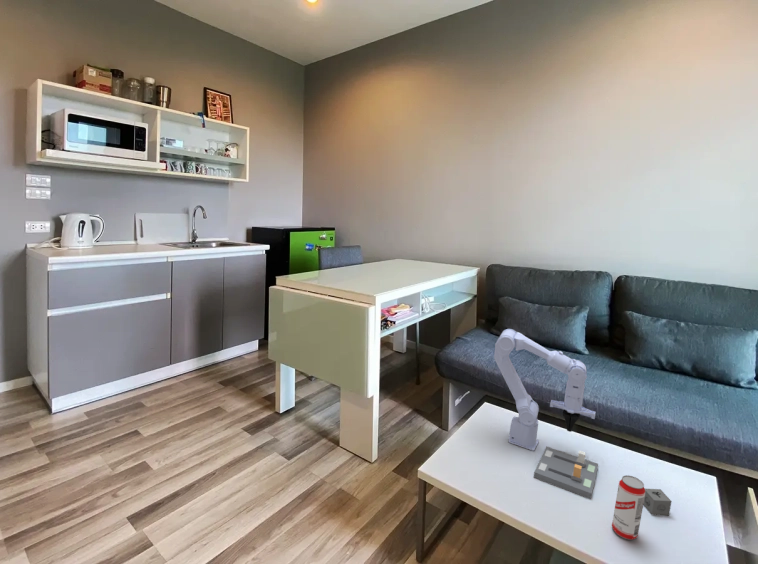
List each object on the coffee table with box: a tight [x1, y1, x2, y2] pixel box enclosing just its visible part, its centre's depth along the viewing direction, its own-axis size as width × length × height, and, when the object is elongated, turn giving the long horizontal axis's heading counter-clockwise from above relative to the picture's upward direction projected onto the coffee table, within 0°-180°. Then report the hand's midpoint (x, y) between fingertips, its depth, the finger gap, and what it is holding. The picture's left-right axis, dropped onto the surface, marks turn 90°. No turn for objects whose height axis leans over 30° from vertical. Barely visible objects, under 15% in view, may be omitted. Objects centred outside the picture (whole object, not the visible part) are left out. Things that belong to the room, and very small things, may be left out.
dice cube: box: [643, 487, 672, 517], centre depth 121 cm, size 5×5×5 cm
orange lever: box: [571, 464, 582, 482], centre depth 131 cm, size 3×2×4 cm
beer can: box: [611, 475, 646, 541], centre depth 111 cm, size 6×6×16 cm
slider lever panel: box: [533, 445, 599, 500], centre depth 137 cm, size 17×18×2 cm
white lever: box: [576, 450, 586, 468], centre depth 138 cm, size 3×2×4 cm
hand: (569, 430), depth 146 cm, fingers closed
